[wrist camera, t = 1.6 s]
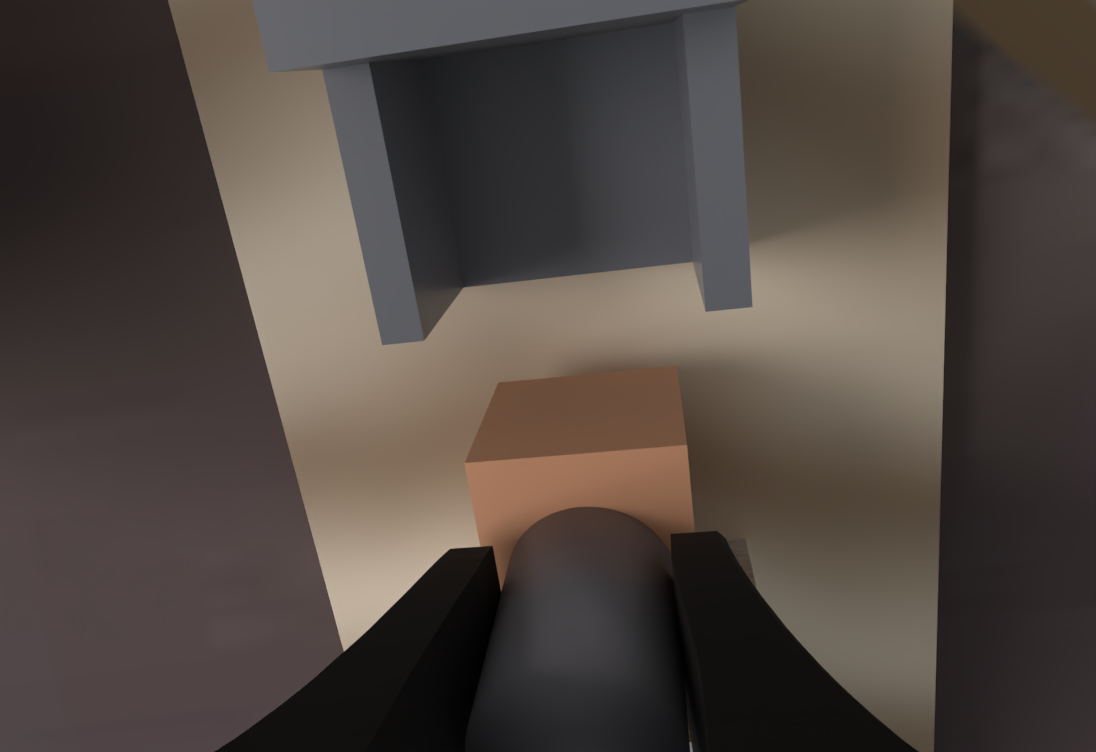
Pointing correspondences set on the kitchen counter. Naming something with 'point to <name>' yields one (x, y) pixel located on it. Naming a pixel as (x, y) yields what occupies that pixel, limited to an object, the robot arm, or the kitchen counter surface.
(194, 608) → the kitchen counter surface
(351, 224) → the base board
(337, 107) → the socket cradle
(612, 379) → the bar
